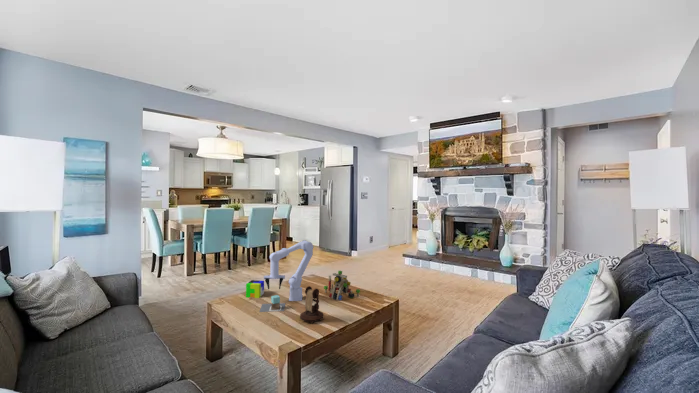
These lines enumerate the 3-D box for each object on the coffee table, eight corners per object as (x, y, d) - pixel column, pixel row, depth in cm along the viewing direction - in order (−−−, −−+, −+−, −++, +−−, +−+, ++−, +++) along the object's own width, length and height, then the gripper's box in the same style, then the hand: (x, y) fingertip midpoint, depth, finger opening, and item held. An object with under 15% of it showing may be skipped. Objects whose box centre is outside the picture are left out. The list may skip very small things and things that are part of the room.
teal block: (277, 300, 209) (277, 294, 209) (279, 302, 205) (279, 296, 205) (271, 301, 207) (271, 296, 206) (273, 304, 203) (273, 298, 203)
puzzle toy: (264, 293, 236) (264, 280, 236) (258, 298, 226) (259, 284, 226) (251, 292, 237) (251, 280, 237) (246, 297, 227) (246, 284, 227)
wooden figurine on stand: (295, 319, 190) (295, 287, 190) (312, 312, 202) (312, 282, 201) (311, 326, 181) (311, 293, 180) (328, 318, 192) (328, 287, 192)
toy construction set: (316, 293, 238) (316, 267, 238) (337, 287, 253) (338, 263, 253) (338, 303, 218) (339, 275, 218) (360, 296, 234) (361, 269, 233)
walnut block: (279, 306, 209) (279, 301, 208) (279, 309, 204) (279, 303, 203) (272, 307, 208) (272, 301, 208) (271, 310, 203) (271, 304, 203)
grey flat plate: (285, 303, 215) (285, 302, 215) (284, 311, 202) (284, 310, 202) (262, 304, 213) (262, 303, 213) (259, 312, 199) (259, 311, 199)
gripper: (285, 268, 221) (284, 286, 221) (264, 268, 219) (264, 287, 219) (284, 270, 214) (284, 289, 214) (263, 271, 212) (263, 290, 212)
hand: (274, 288), depth 216 cm, fingers open, 7 cm apart
